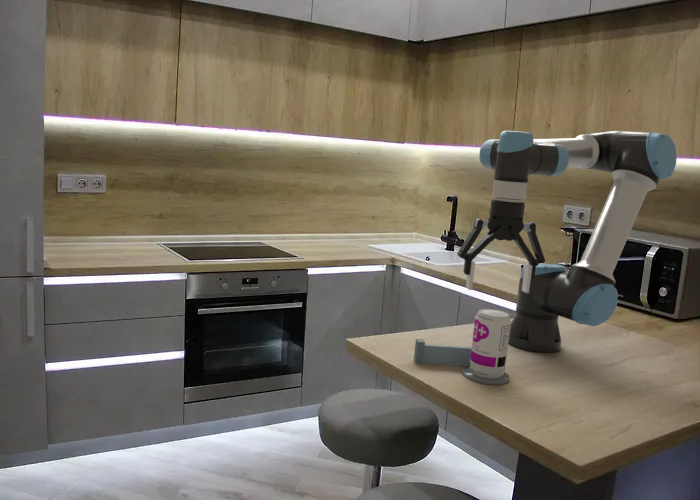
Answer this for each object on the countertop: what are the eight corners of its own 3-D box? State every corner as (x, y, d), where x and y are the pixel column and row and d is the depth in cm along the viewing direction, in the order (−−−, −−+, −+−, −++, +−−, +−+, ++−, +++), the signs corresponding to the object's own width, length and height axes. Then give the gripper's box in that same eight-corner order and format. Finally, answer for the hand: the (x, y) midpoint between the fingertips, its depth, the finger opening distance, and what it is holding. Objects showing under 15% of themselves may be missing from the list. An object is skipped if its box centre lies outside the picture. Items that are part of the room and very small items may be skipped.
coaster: (500, 369, 159) (501, 366, 159) (515, 386, 148) (515, 383, 148) (457, 366, 158) (457, 364, 158) (468, 383, 147) (469, 381, 147)
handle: (491, 364, 161) (494, 343, 160) (494, 368, 159) (496, 346, 158) (413, 360, 159) (416, 338, 159) (415, 363, 157) (417, 342, 156)
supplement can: (478, 380, 148) (486, 317, 145) (462, 367, 156) (470, 307, 153) (509, 379, 150) (518, 317, 147) (493, 367, 158) (501, 308, 155)
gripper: (554, 201, 152) (542, 289, 155) (450, 194, 149) (441, 283, 153) (567, 205, 144) (554, 297, 148) (459, 197, 142) (449, 291, 145)
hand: (497, 290), depth 150 cm, fingers open, 13 cm apart
